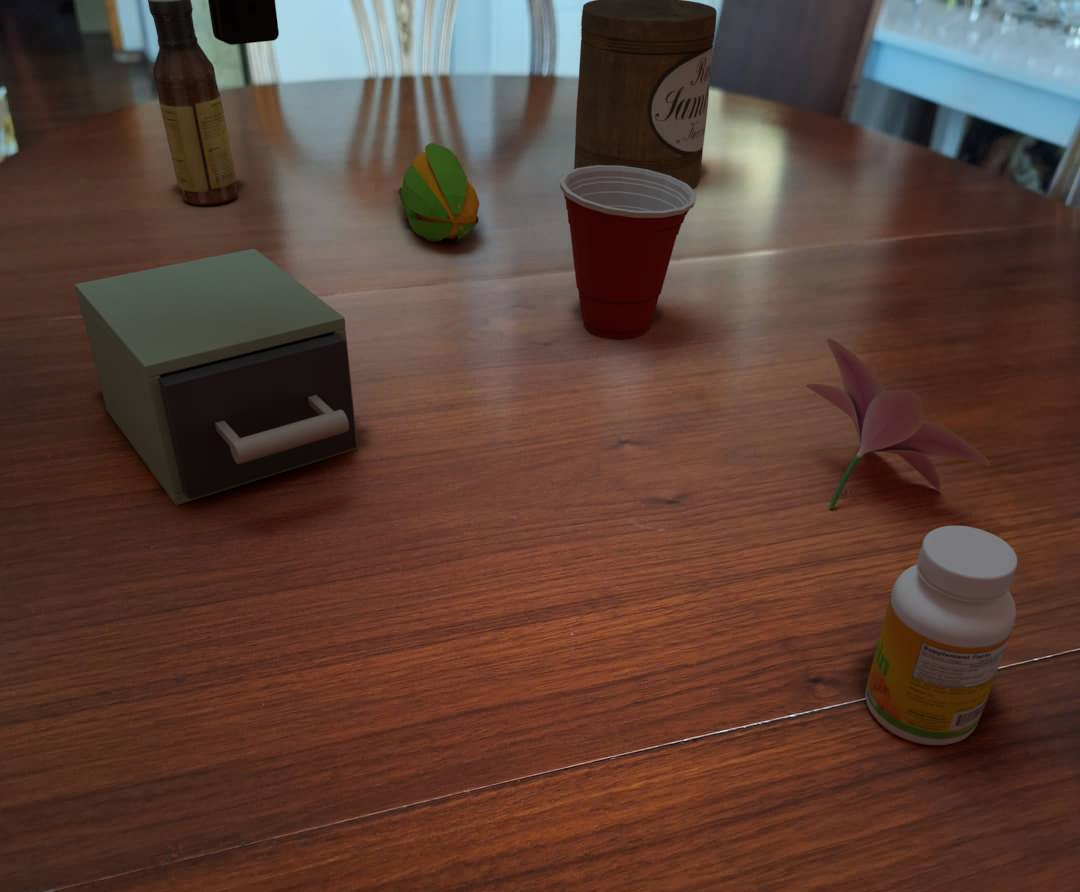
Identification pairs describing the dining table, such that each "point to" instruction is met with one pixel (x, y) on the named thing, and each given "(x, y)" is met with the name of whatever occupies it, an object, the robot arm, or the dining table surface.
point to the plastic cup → (622, 242)
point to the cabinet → (189, 337)
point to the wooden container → (644, 85)
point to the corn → (439, 196)
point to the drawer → (259, 413)
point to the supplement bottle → (943, 637)
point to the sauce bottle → (191, 108)
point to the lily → (890, 420)
